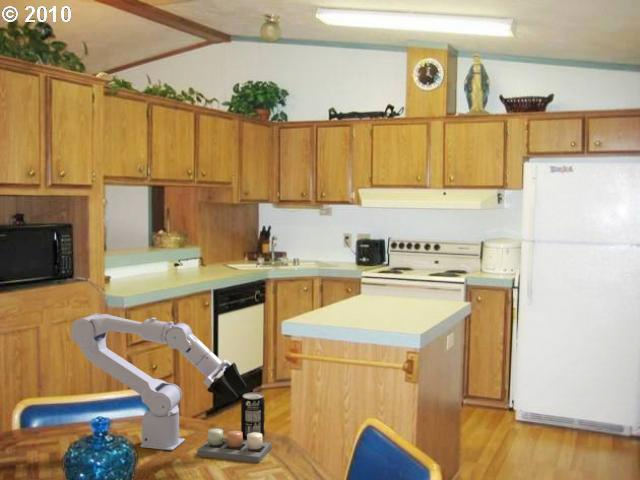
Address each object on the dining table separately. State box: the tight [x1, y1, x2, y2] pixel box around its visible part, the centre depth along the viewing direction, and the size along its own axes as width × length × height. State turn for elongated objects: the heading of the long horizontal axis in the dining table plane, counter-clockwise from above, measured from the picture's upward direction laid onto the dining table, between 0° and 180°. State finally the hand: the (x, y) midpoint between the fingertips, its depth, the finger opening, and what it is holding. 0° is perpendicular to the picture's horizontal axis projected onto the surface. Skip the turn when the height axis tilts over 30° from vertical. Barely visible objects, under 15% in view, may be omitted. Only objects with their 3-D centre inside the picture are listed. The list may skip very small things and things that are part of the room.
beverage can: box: [240, 392, 266, 440], centre depth 187 cm, size 7×7×12 cm
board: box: [196, 437, 272, 464], centre depth 176 cm, size 17×10×2 cm, turn 77°
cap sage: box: [207, 428, 224, 445], centre depth 178 cm, size 4×4×3 cm
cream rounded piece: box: [247, 432, 263, 449], centre depth 175 cm, size 4×4×3 cm
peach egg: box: [226, 430, 244, 447], centre depth 176 cm, size 4×4×3 cm
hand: (240, 394), depth 178 cm, fingers open, 7 cm apart
